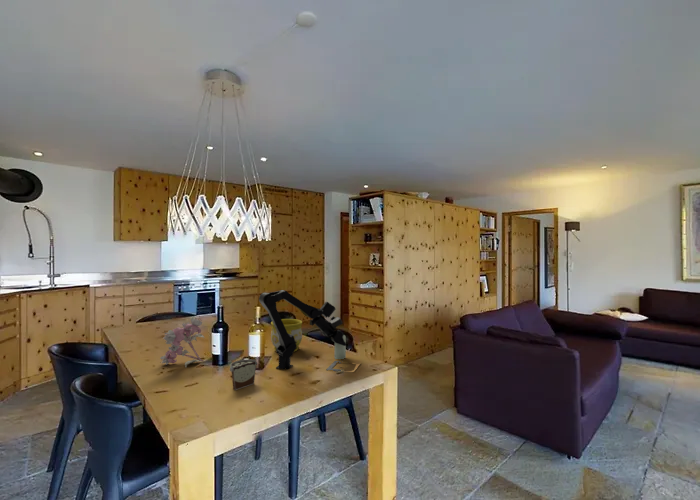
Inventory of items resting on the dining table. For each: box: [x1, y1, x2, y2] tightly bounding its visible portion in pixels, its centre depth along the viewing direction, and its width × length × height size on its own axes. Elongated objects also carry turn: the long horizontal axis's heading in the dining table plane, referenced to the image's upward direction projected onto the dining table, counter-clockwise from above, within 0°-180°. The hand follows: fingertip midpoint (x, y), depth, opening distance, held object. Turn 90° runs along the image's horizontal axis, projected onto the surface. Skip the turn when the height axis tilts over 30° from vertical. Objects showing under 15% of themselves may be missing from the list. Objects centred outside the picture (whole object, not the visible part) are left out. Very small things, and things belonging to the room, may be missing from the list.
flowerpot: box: [270, 318, 303, 353], centre depth 206 cm, size 18×18×16 cm
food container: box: [229, 358, 258, 391], centre depth 152 cm, size 12×6×10 cm, turn 141°
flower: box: [159, 316, 205, 368], centre depth 180 cm, size 20×22×25 cm
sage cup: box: [333, 334, 347, 360], centre depth 191 cm, size 6×6×12 cm
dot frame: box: [325, 360, 342, 372], centre depth 177 cm, size 14×14×1 cm
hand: (342, 343), depth 191 cm, fingers open, 9 cm apart
